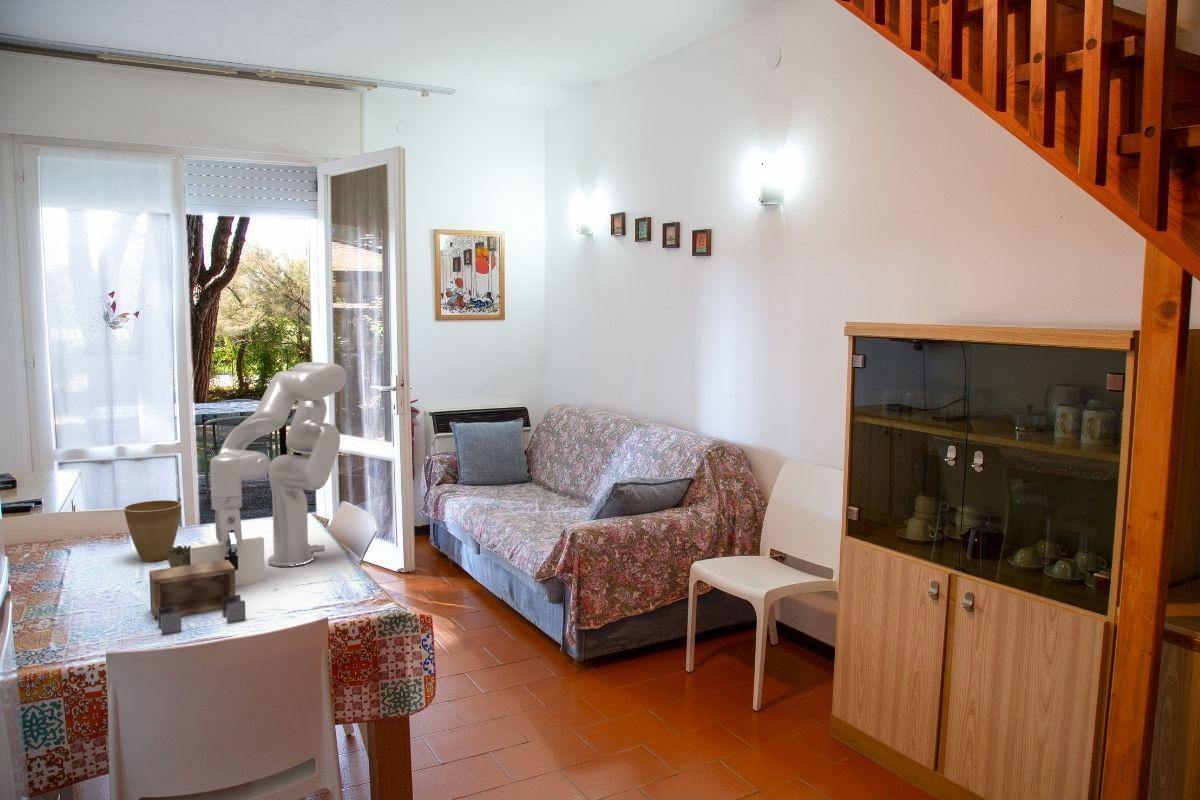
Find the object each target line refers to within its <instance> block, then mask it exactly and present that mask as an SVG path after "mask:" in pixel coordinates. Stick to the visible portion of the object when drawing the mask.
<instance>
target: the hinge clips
mask: <svg viewBox="0 0 1200 800" xmlns="http://www.w3.org/2000/svg"><path fill="white" fill-rule="evenodd" d="M221 610H222V614H221V615H222V617H226V623H227V624H230V623H236V622H241V621H246V620H247V619H246V601H245V600H244V599H243V600H241V595H240V594H236V595H234V596H228V597H222V609H221ZM157 627H158V629H161V630H160V631H161V633H160V634H161V635H162V636H163V635H164V636H165V635H169V634H170V635H171V634H173V633H180V632H182V616H181V612H180V611H178V610H177V605H172V606H166V607H160V608H158V620H157Z"/></svg>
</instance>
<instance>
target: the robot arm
mask: <svg viewBox="0 0 1200 800" xmlns="http://www.w3.org/2000/svg"><path fill="white" fill-rule="evenodd" d="M346 382H347V373H346V371H345V369H344V367H342V366H341V365H340V364H337V363H332V362H331V363H329V362H314V361H312V362H311V361H309V362H308V361H307V362H299V363H297V364H294V366H293V367H292V369H291V370H281V371H278V372H276V373H275V374H274V375H273V376H272V378H271V380H270V381H269V384H268V386H267V387H266V389H265V391H264V394H263V395H262V398H261V400H260V401H259V403H258V406H257V408H256V409H255V410H254V413H252V414H251V416H249V417H247V418H246V419H245V420H243V421H242V422H241V423H240V424H238V425H237V426H236V427H234V429H232V430H231V432H230V433H229V434H228V435H227V436H226V438H225V440H224V442H223V443H222V445H221V448H220V450H219V453H218V454H217V455H214V456H213V457H211V459H210V462H209V470H210V471H209V472H210V504H211V505H210V506H211V507H210V509H211V510H214V511H215V512H214V513H215V517H214V518H215V537H216V540H217V541H218V543H220V544H221V545H222V546H224V547H225V553H226V556H225V560H229V562H230V563H231V564H232V565H233V566H234V568H235V570H238V552H237V543H238V544H239V545H241V544H242V540H243V537H242V536H243V533H242V519H241V512H240V511H241V510H240V508H242V507H243V489H242V488H243V486H242V485H243V483H242V481H243V480H257V479H261V478H262V477H264V476H266V474H268V480H269V485H270V488H271V497H272V532H273V533H272V534H273V535H272V536H273V537H272V538H273V539H272V541H273V555H270V556H269V557H268V559H267V563H268V564H269V565H270V564H271V565H270V566H273V565H274V566H273V567H278V566H290V565H296V564H300V563H304V562H307V561H309V560H311V559H312V558H313V557H314V554H315V553H320V552H321V553H323V552H325V551H326V548H325V545H324V544H322V545H321V544H320V545H318V544H313V545H311V544H309V536H308V535H309V533H308V532H309V528H308V526H309V525H308V500H307V496H306V493H305V491H304V490H306V491H318V490H321V489H322V488H323V487H324V486H325V485H326V484H327V483H328V480H329V477H330V474H331V472H332V469H333V467H334V464H335V461H336V459H337V455H338V454H339V453H338V452H339V450H340V445H341V433H340V431H339V429H338V427H336V426H335V425H334V424H331V423H327V422H325V420H326V419H325V418H326V416H327V413H328V412H327V410H328V406H327V403H326V400H325V397H328V396H332V395H333V394H337V393H338V392H340V390H342V389H343V388H344V386H345V384H346ZM296 402H297V407H296V410H295V413H294V415H293V418H292V421H291V423H290V426H289V429H288V432H287V434H286V436H285V445H286V447H287V449H289V451H292V452H293V453H297V454H307V455H309V456H303V455H296V454H281V455H277V456H276V457H274V458H273V459H272V460H271V461H270V459H269V457H268V456H267V455H266V454H265V453H263V452H261V451H260V452H259V451H255V450H246V449H247V447H248V446H249V445H250V444H251V443H252V442H254V441H255V440H257V439H258V438H261V437H262V436H265V435H269V434H271V433H273V432H276V431H278V430H280V429H282V428H284V426H285V424H286V422H287V420H288V417H289V416H290V413H291V412H292V409H293V408H294V405H295V403H296ZM236 542H237V543H236ZM227 543H230V544H228V545H227ZM229 547H231V548H229ZM228 548H229V550H228Z"/></svg>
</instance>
